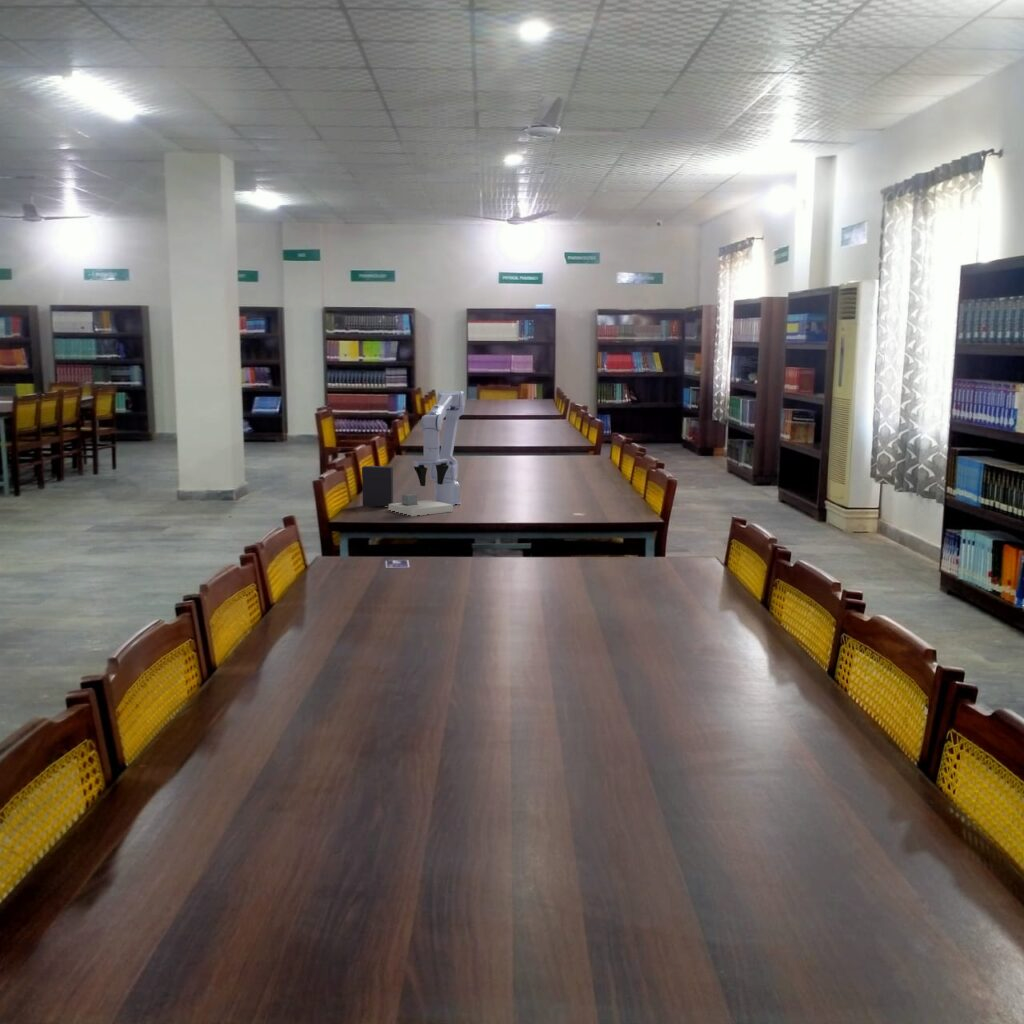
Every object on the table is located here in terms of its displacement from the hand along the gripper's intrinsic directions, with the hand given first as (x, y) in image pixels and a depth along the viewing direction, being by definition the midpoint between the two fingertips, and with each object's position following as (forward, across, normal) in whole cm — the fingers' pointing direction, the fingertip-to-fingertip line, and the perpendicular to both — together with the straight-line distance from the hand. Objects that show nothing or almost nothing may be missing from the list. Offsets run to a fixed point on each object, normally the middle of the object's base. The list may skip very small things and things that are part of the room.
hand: (431, 485), depth 353 cm
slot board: (+9, -4, +1) cm, 10 cm away
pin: (+10, -7, +4) cm, 12 cm away
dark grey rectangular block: (+10, -11, +19) cm, 24 cm away
